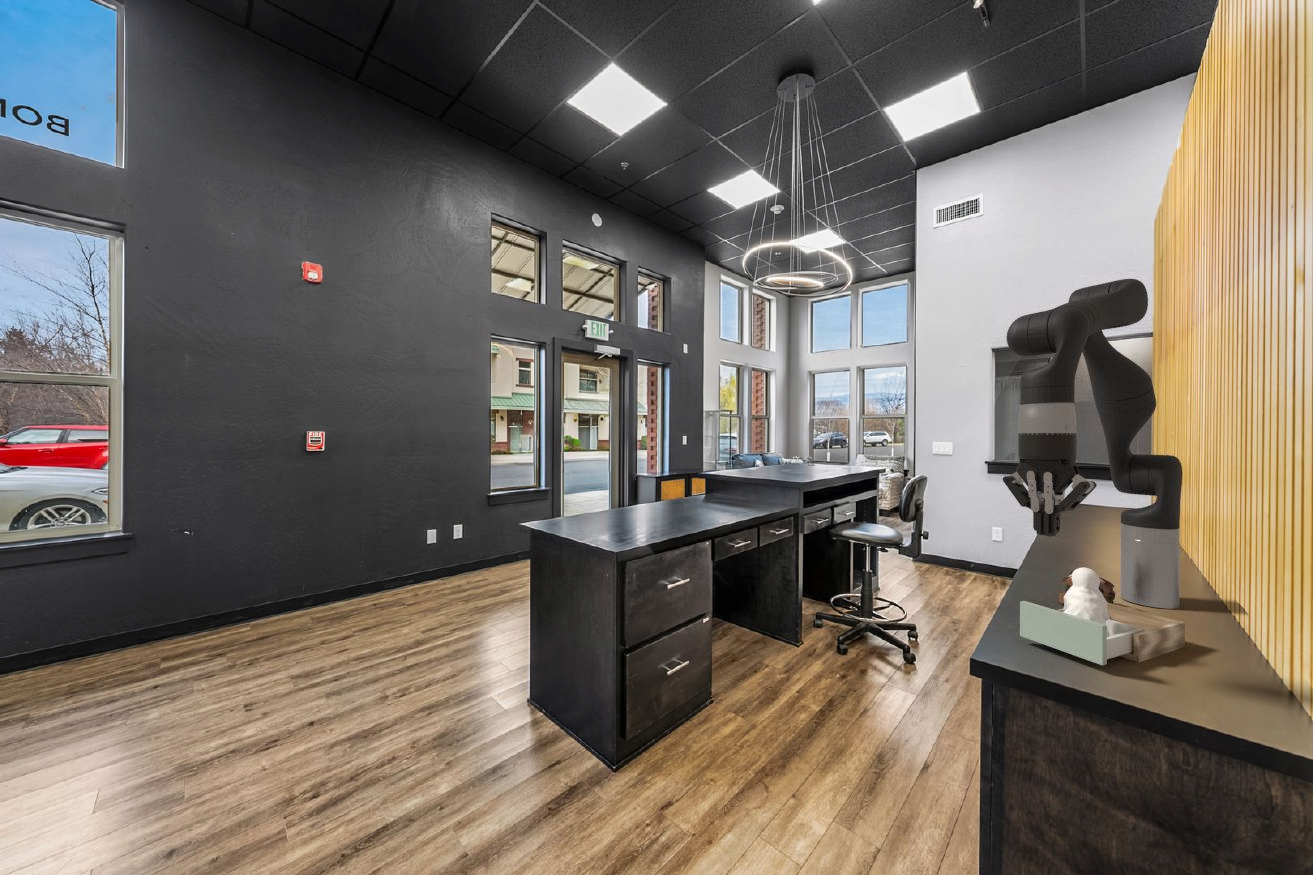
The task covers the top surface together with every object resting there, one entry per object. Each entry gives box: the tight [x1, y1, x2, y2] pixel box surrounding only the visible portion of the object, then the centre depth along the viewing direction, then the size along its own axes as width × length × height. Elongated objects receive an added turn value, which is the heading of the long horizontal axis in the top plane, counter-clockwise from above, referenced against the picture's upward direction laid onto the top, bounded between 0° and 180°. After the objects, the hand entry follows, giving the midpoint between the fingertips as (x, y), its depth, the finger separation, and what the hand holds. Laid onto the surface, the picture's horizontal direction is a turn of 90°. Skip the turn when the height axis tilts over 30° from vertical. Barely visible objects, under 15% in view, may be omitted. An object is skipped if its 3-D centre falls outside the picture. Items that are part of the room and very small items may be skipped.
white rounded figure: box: [1062, 567, 1110, 637], centre depth 84 cm, size 6×8×12 cm
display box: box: [1056, 603, 1186, 664], centre depth 87 cm, size 15×12×4 cm
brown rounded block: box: [1058, 570, 1116, 605], centre depth 103 cm, size 12×9×8 cm
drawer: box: [1019, 600, 1145, 666], centre depth 83 cm, size 14×12×6 cm
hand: (1046, 534), depth 79 cm, fingers closed
